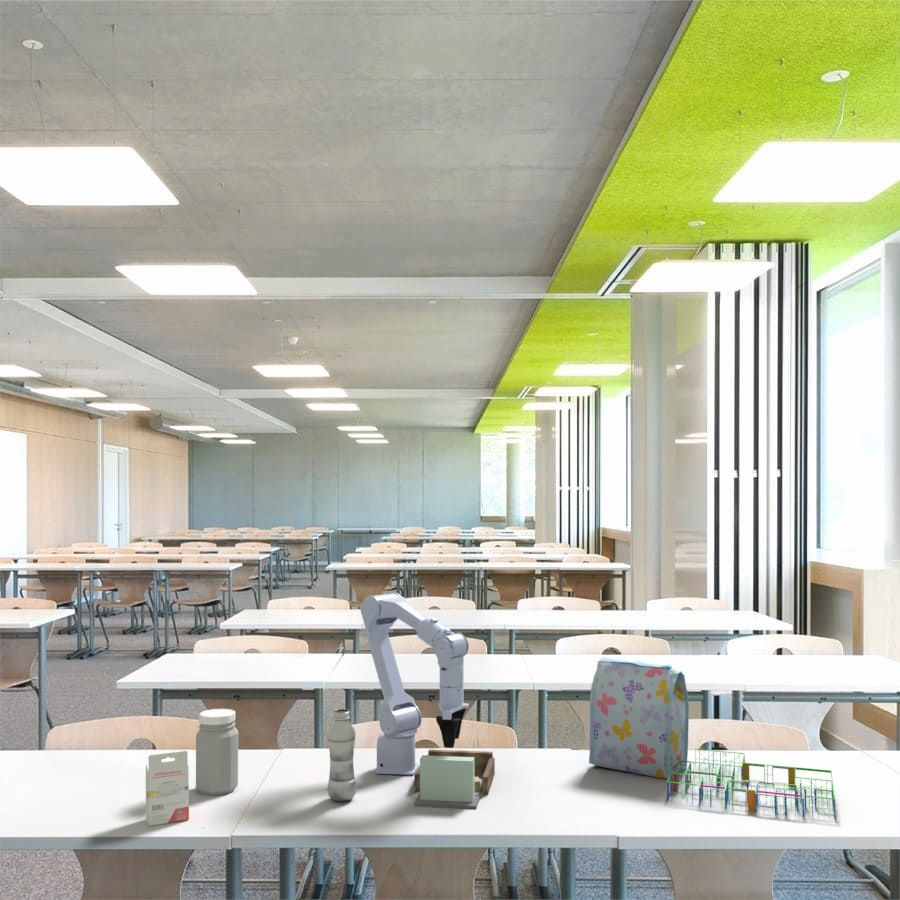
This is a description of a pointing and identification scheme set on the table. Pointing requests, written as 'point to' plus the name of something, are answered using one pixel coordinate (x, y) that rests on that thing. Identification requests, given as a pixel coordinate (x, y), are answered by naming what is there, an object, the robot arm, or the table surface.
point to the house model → (751, 794)
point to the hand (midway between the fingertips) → (451, 742)
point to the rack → (482, 765)
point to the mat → (448, 803)
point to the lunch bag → (638, 717)
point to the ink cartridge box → (167, 788)
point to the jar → (217, 752)
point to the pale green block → (447, 778)
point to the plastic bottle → (341, 757)
